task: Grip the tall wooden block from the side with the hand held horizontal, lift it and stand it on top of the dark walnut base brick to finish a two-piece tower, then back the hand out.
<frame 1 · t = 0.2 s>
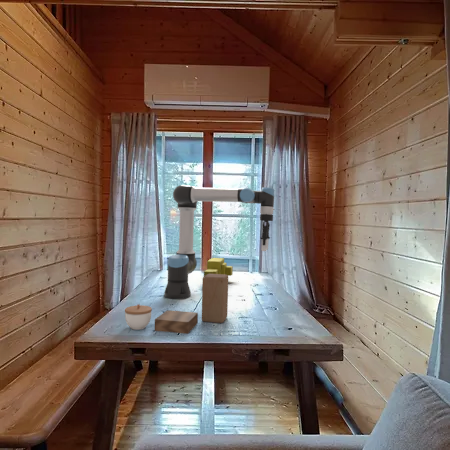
hand: (264, 250, 201), 28 cm above the table, tool pointing down, fingers open, 13 cm apart
lidded jar: (138, 327, 141), on the table
wooden block: (214, 320, 154), on the table
base brick: (176, 327, 143), on the table
toy blocks: (218, 284, 239), on the table
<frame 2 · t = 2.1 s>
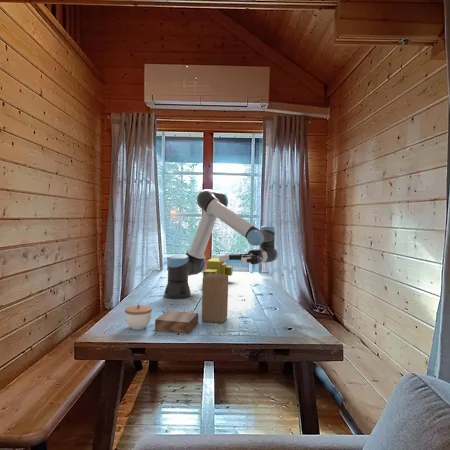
hand: (230, 259, 161), 26 cm above the table, tool horizontal, fingers open, 13 cm apart
nothing on the table moved.
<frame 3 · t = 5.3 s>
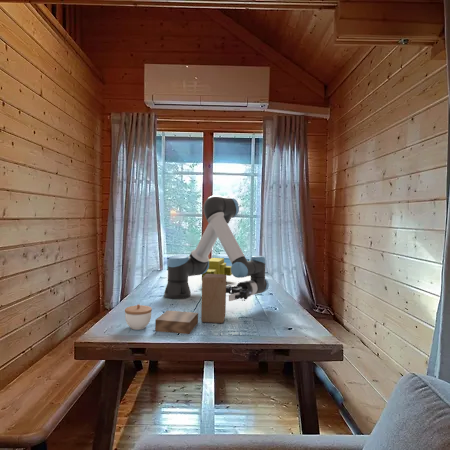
hand: (217, 295, 155), 11 cm above the table, tool horizontal, fingers open, 13 cm apart
wooden block: (213, 320, 154), on the table, touching gripper
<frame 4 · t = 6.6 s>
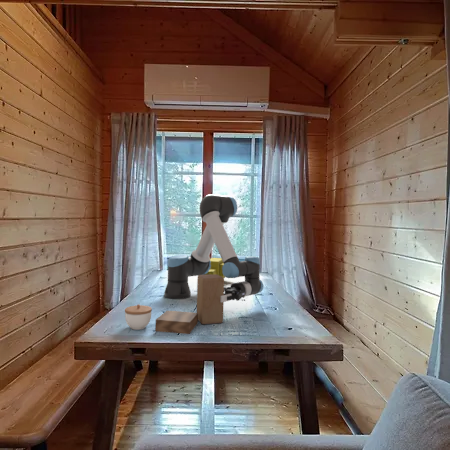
hand: (209, 296, 152), 11 cm above the table, tool horizontal, fingers closed on wooden block, 13 cm apart
wooden block: (209, 321, 152), on the table, touching gripper
everything else where it was.
when the fingers open (17 cm above the table, at t = 12.2 s): wooden block drops 1 cm, resting on base brick.
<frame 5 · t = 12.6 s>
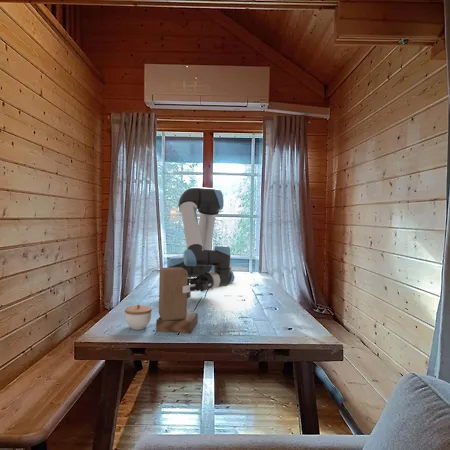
hand: (171, 287, 140), 17 cm above the table, tool horizontal, fingers open, 13 cm apart
wooden block: (172, 317, 141), point 4 cm above the table, touching base brick
base brick: (177, 328, 143), on the table, touching wooden block
toy blocks: (215, 284, 239), on the table
everything else where it was.
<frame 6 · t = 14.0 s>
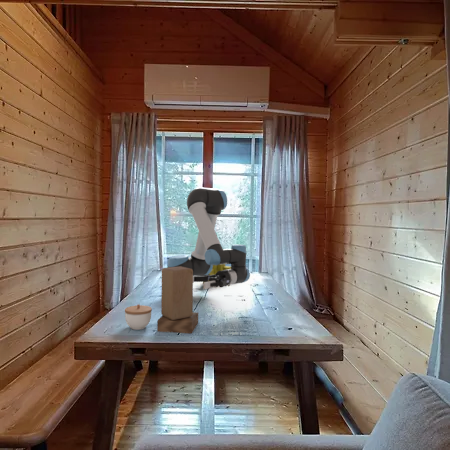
hand: (193, 283, 150), 17 cm above the table, tool horizontal, fingers open, 13 cm apart
wooden block: (176, 316, 142), point 4 cm above the table
base brick: (178, 328, 143), on the table
everything else where it was.
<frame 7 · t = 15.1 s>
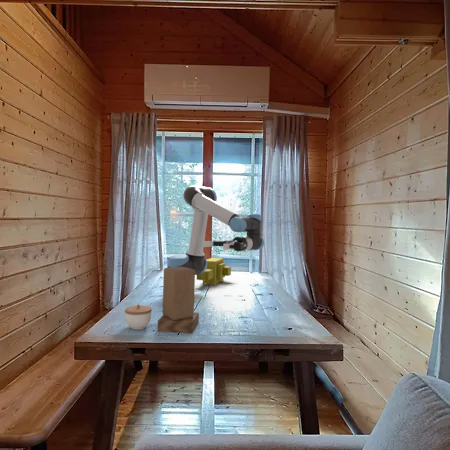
hand: (213, 245, 161), 33 cm above the table, tool horizontal, fingers open, 13 cm apart
wooden block: (177, 316, 142), point 4 cm above the table, touching base brick
base brick: (179, 328, 143), on the table, touching wooden block
everything else where it was.
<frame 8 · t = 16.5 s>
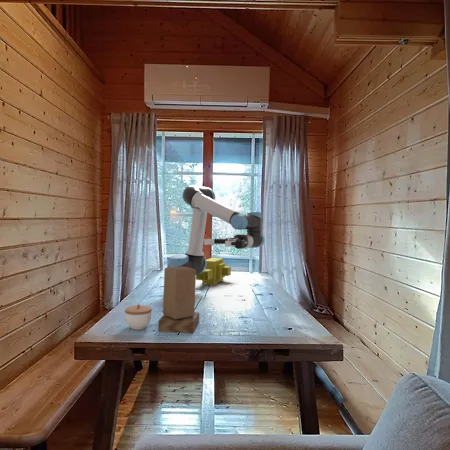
hand: (214, 242, 162), 34 cm above the table, tool horizontal, fingers open, 13 cm apart
wooden block: (178, 316, 143), point 4 cm above the table
base brick: (179, 328, 143), on the table
everything else where it was.
at the end: wooden block 0.6 cm from the base brick (horizontally); wooden block touching base brick; wooden block tilted 1° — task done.
